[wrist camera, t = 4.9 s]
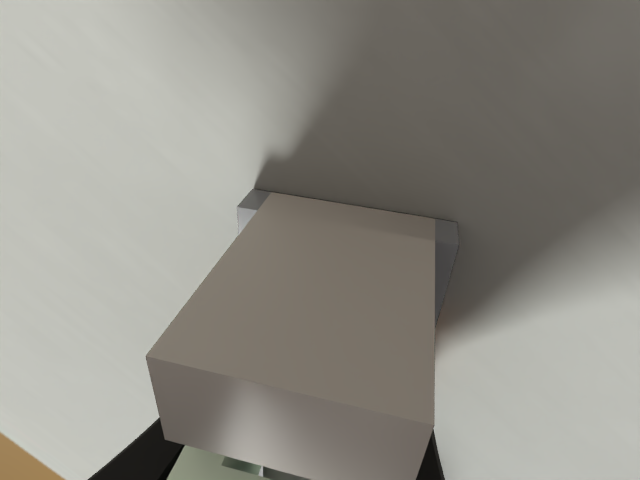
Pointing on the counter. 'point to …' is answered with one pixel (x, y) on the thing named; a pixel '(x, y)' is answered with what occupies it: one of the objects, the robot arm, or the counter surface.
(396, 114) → the counter surface
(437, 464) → the robot arm
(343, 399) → the rod with sliding collar
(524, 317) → the counter surface
